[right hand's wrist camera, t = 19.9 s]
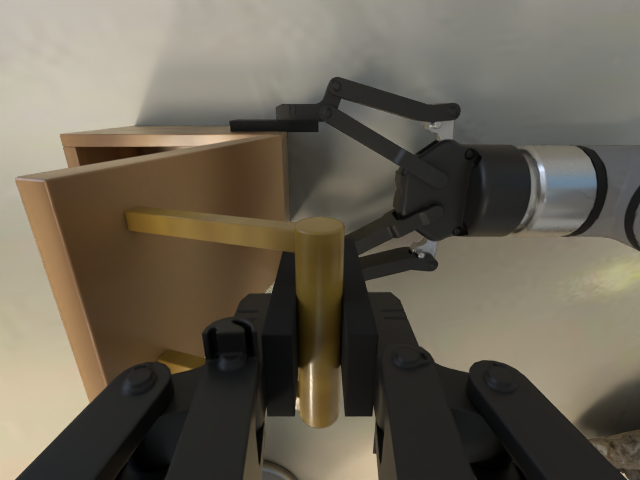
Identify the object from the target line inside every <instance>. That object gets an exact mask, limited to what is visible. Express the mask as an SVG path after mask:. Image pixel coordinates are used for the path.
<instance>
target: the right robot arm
mask: <svg viewBox="0 0 640 480" xmlns="http://www.w3.org/2000/svg"><path fill="white" fill-rule="evenodd" d="M202 339H203V345H204V352H205V358H206V362H205V364H204V365H202V366H200V367H198V368H195V369H191V370H187V371H183V372H179V373H175V374H171V371H170V369H169V368H168V367H167V365H166V364H163V363H160V362H145V363H141V364H137V365H134V366H132V367H130V368H128V369H126V370H124V371H123V372H122V373H120V374H119V375H118V376H117V377H115V378H114V379H113V380H112V381H111V382H110V383H109V384H108V385H107V386H106V388H105V389H104V390H103V391H102V392H101V393H100V394H99V395H98V396H97V397H96V398H95V399H94V400H93V401H92V402H91V403H90V404H89V405H88V406H87V407H86V408H85V409H84V410H83V411H82V412H81V413H80V414H79V415H78V416H77V417H76V418H75V419H74V420H73V421H72V422H71V423H70V424H69V425H68V426H67V427H66V428H65V429H64V430H63V431H62V432H61V433H60V434H59V435H58V436H57V438H56V439H55V440H54V441H53V442H52V443H51V444H50V445H49V446H48V447H47V448H46V449H45V450H44V451H43V452H42V453H41V454H40V455H39V456H38V457H37V458H36V459H35V460H34V461H33V462H32V463H31V464H30V465H29V466H28V467H27V468H26V469H25V470H24V471H23V472H22V473H21V474H20V475H19V476H18V477H17V478H16V479H15V480H261V479H262V467H263V455H264V444H265V422H264V417H265V412H266V406H267V416H295V407H296V395H297V382H298V370H299V358H298V324H297V295H296V278H295V253H293V252H285V251H283V252H282V256H281V260H280V264H279V268H278V271H277V275H276V279H275V283H274V287H273V291H272V293H249V294H248V295H247V296H246V297H244V298H243V299H242V300H241V301H240V302H239V305H238V307H237V310H236V312H235V315H234V317H227V318H222V319H220V320H217V321H214V322H213V323H211V324H210V325H208V326H207V327H206V328H205V330H204V331H203V332H202ZM341 372H342V385H343V397H344V409H345V416H372V414H373V405H374V411H375V417H376V422H375V435H374V447H373V453H374V454H376V455H377V466H378V478H379V480H627V479H626V478H625V477H624V476H623V475H622V474H621V473H620V472H619V471H618V470H617V469H616V468H615V467H614V466H613V465H612V464H611V463H610V462H609V461H608V460H607V459H606V458H605V457H604V456H603V455H602V454H601V453H600V452H599V451H598V450H597V449H596V448H595V447H594V446H593V445H592V444H591V443H590V442H589V441H588V440H587V438H586V437H585V436H584V435H583V434H582V433H581V432H580V431H579V430H578V429H577V428H576V427H575V426H574V425H573V424H572V423H571V422H570V421H569V420H568V419H567V418H566V417H565V416H564V415H563V414H562V413H561V412H560V411H559V410H558V409H557V408H556V407H555V406H554V405H553V404H552V403H551V402H550V401H549V400H548V399H547V398H546V397H545V396H544V395H543V394H542V393H541V392H540V391H539V390H538V389H537V388H536V387H535V386H534V385H533V384H532V383H531V382H530V381H529V380H528V379H527V378H526V377H525V376H524V375H523V374H522V373H520V372H519V371H518V370H516V369H515V368H513V367H511V366H509V365H507V364H504V363H500V362H497V361H489V360H482V361H479V362H476V363H474V364H473V365H472V366H471V367H470V370H469V373H467V372H463V371H458V370H454V369H450V368H447V367H443V366H441V365H439V364H436V363H435V361H434V359H433V358H432V356H431V355H430V353H429V352H427V351H426V350H425V349H423V348H422V347H420V346H419V345H418V343H417V340H416V338H415V336H414V333H413V331H412V328H411V326H410V323H409V321H408V319H407V316H406V314H405V311H404V309H403V306H402V304H401V302H400V300H399V299H398V298H397V297H396V296H394V295H393V294H392V293H391V292H367V288H366V284H365V280H364V276H363V272H362V268H361V264H360V260H359V257H358V253H357V249H356V245H355V241H354V239H344V268H343V303H342V338H341Z"/></svg>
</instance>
